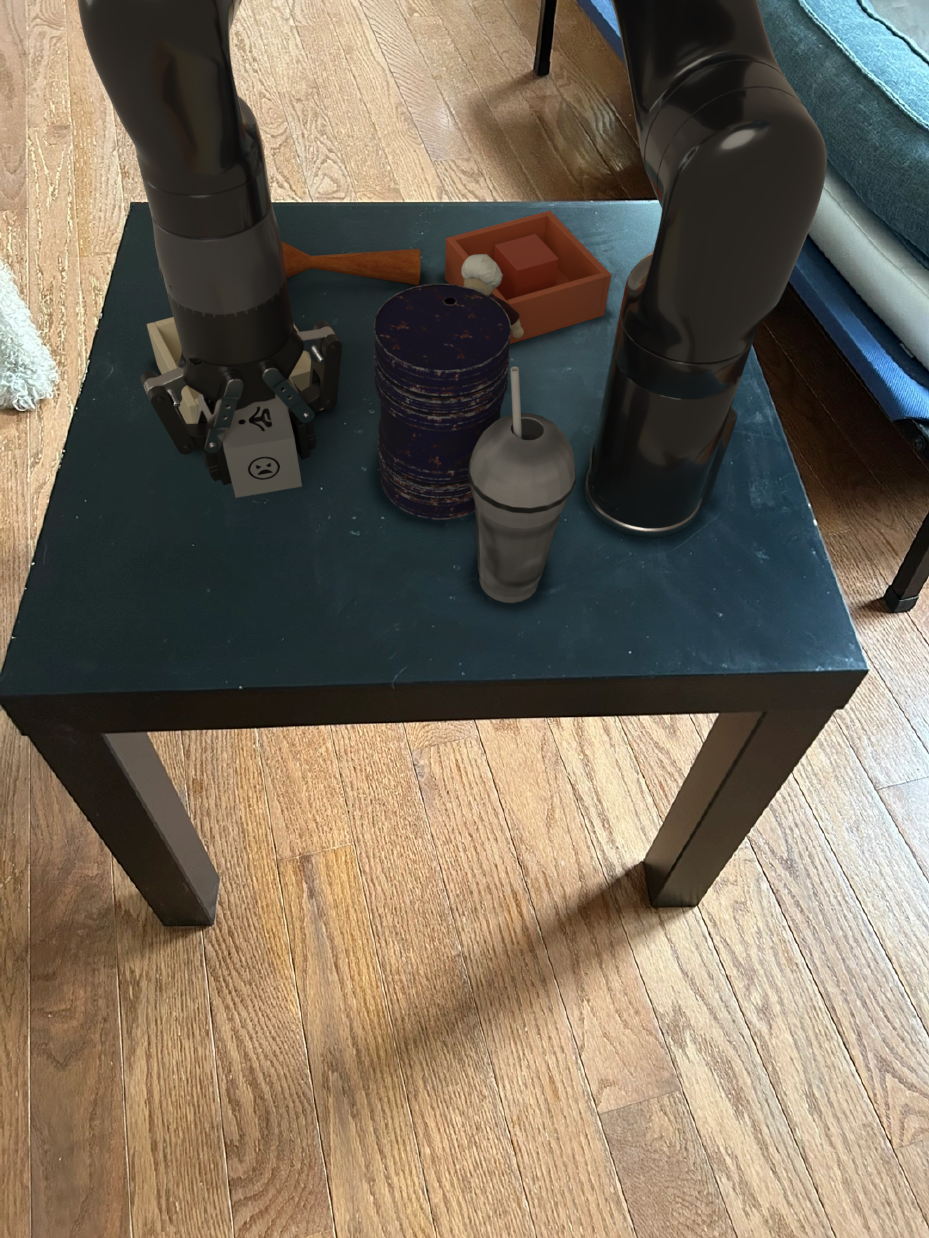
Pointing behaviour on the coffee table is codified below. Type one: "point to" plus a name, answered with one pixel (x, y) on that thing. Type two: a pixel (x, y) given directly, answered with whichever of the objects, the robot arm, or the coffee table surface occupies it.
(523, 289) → the rust block
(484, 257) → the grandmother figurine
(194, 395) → the cream bin
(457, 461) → the navy cylindrical canister
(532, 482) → the beverage cup
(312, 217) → the coffee table surface
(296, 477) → the dice cube
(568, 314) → the terracotta bin
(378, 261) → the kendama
